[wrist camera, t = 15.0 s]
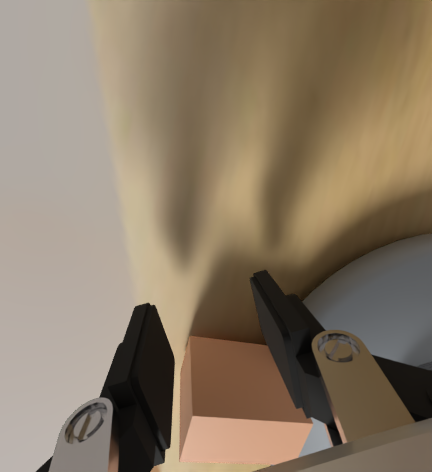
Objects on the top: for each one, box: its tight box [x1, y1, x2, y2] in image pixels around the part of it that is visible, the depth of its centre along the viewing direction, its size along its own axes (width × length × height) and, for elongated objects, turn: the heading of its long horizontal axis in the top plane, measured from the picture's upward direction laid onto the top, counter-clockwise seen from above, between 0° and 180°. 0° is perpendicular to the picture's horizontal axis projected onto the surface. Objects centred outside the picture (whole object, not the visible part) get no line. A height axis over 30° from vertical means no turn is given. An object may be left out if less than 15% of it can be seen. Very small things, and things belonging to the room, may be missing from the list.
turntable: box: [179, 233, 432, 466], centre depth 14 cm, size 25×20×4 cm
